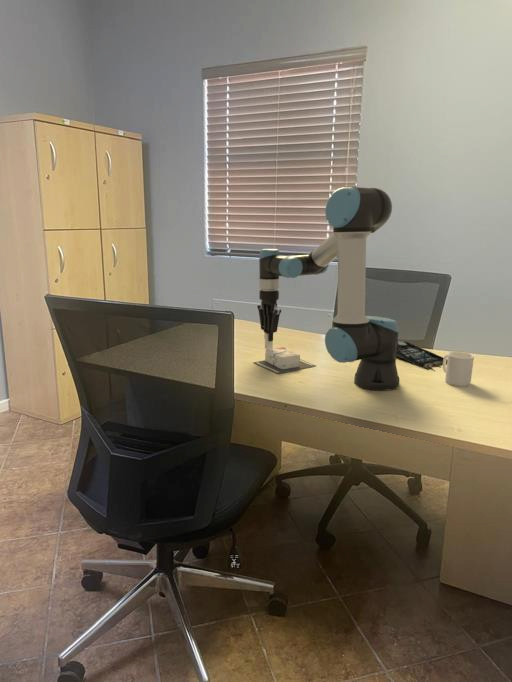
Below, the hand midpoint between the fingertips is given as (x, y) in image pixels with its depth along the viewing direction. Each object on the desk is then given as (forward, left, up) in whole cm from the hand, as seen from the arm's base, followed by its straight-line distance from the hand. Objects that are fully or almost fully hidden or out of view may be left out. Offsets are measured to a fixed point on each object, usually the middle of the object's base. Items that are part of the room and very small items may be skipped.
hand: (268, 348), depth 207 cm
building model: (-33, -49, -5) cm, 59 cm away
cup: (-57, -39, -4) cm, 70 cm away
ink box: (-4, 0, -1) cm, 4 cm away
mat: (-10, 0, -4) cm, 11 cm away
